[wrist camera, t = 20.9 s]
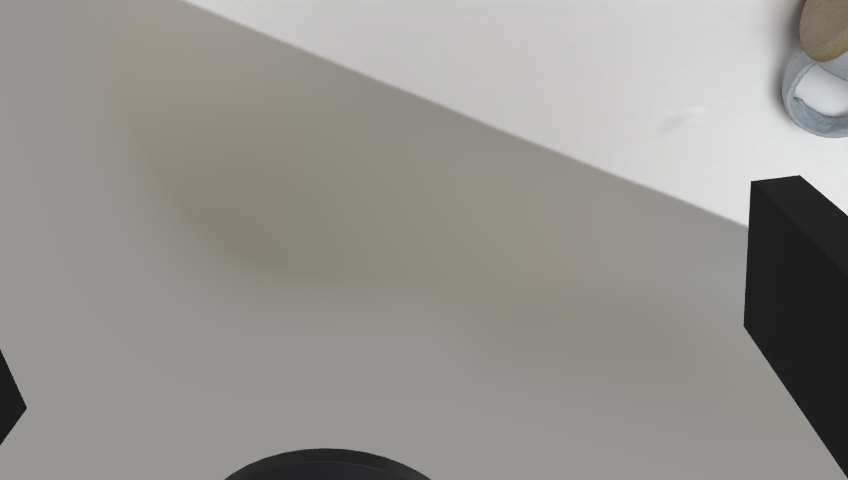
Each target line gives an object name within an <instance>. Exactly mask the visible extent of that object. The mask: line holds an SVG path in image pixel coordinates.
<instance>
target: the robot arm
mask: <svg viewBox="0 0 848 480" xmlns="http://www.w3.org/2000/svg"><path fill="white" fill-rule="evenodd" d="M745 291H746V292H745V311H744V327H745V329H746V330H747V332H748V333H749V334H750V336H751V338H752V339H753V340H754V342H755V343H756V345H757V346H758V348H759V349H760V350H761V352H762V354H763V355H764V357H765V358H766V360H767V361H768V362H769V364H770V365H771V367H772V368H773V370H774V371H775V373H776V374H777V376H778V377H779V379H780V380H781V381H782V383H783V384H784V386H785V387H786V389H787V390H788V392H789V393H790V394H791V396H792V398H793V399H794V400H795V402H796V403H797V405H798V406H799V408H800V409H801V411H802V412H803V413H804V415H805V417H806V418H807V419H808V421H809V422H810V424H811V425H812V427H813V428H814V430H815V431H816V433H817V434H818V436H819V437H820V439H821V440H822V441H823V443H824V444H825V446H826V447H827V449H828V450H829V452H830V453H831V455H832V456H833V458H834V459H835V461H836V462H837V463H838V465H839V466H840V468H841V469H842V470H843V472H844V474H845V475H846V476H847V478H848V216H847V215H846V214H845V213H844V212H843V211H841V210H840V209H839V208H838V207H837V206H836V205H834V204H833V203H832V202H831V201H830V200H828V199H827V198H826V197H825V196H824V195H823V194H821V193H820V192H819V191H818V190H817V189H815V188H814V187H813V186H812V185H811V184H809V183H808V182H807V181H806V180H805V179H804V178H802V177H801V176H800V175H798V176H790V177H782V178H774V179H766V180H758V181H751V192H750V212H749V231H748V251H747V273H746V290H745ZM26 408H27V407H26V405H25V403H24V401H23V398H22V397H21V394H20V392H19V390H18V387H17V385H16V383H15V381H14V379H13V376H12V374H11V372H10V370H9V368H8V365H7V363H6V361H5V359H4V357H3V354H2V353H1V350H0V445H1V443H2V442H3V441H4V439H5V438H6V436H7V435H8V434H9V432H10V431H11V430H12V428H13V427H14V425H15V424H16V422H17V421H18V420H19V418H20V417H21V416H22V414H23V413H24V411H25V410H26Z"/></svg>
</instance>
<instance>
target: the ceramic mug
mask: <svg viewBox="0 0 848 480" xmlns="http://www.w3.org/2000/svg"><path fill="white" fill-rule="evenodd" d="M799 33H800V41H801V45H802V49H803V51H802V52H801V53H800V54H799V55H798V56H797V57H796V58H795V59H794V60H793V62H792V63H791V65H790V67H789V69H788V71H787V73H786V75H785V77H784V81H783V85H782V94H783V99H784V104H785V108H786V110H787V113H788V115H789V117H790V118H791V119H792V120H793V121H794V123H795V124H797V125H798V126H799V127H801V128H802V129H804V130H806V131H808V132H810V133H812V134H815V135H818V136H821V137H828V138H842V137H848V116H845V117H839V118H832V117H825V116H823V115H821V114H820V113H818V112H816V111H814V110H813V109H811V108H809V107H808V106H806V105H805V104H804V101H803V100H802V99H798V98H794V93H795V88H796V86H797V85H798V83H799V82H800V80H801V79H802V77H803V76H804V74H806V73H807V72H808V70H809V69H810V68H811V67H812V66H813V65H815V64H818V65H819V66H820V67H821V68H823V69H824V70H826V71H828V72H829V73H831V74H833V75H835V76H837V77H839V78H841V79H843V80H846V81H848V0H807V1H806V3H805V5H804V8H803V12H802V15H801V19H800V28H799Z"/></svg>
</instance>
